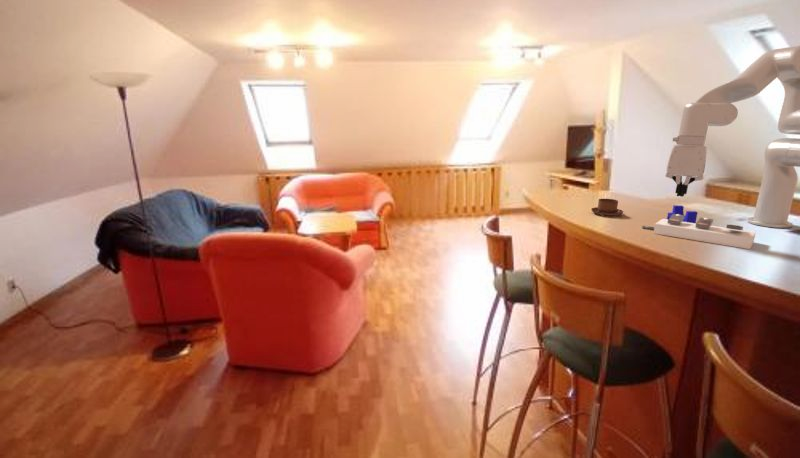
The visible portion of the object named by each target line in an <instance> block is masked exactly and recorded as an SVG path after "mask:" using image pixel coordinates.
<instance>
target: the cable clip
mask: <svg viewBox="0 0 800 458" xmlns="http://www.w3.org/2000/svg"><path fill="white" fill-rule="evenodd" d="M684 208H685V207H684V205H677V204H676V205H675V204H674V205H673V206H672V211H671V212H667V215H666V219H669V218H670V217H671V215H672V214H680V215H685V218H684V220H683V221H682V222H689V223H697V218H698V217H697V216H698V212H699V211H698V212H697V211H696V210H695V211H694V210H693V211H692V210H686V212H685V213H684Z"/></svg>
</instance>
